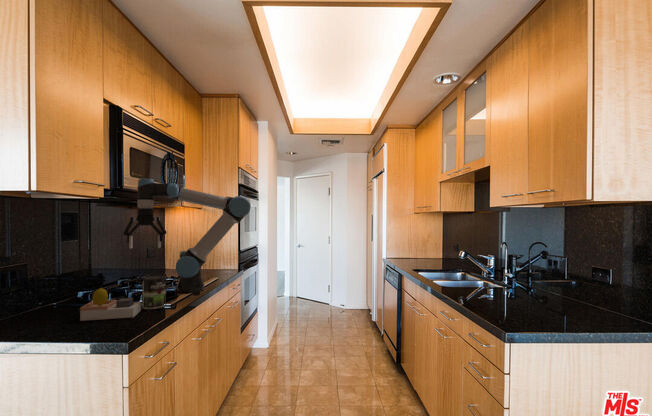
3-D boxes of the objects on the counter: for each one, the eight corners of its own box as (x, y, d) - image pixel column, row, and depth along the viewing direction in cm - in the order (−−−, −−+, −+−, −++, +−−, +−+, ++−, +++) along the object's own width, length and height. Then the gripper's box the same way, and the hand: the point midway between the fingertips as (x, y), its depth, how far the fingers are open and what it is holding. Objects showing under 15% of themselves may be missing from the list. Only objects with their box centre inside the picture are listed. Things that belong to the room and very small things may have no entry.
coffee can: (170, 305, 155) (170, 276, 155) (148, 310, 147) (148, 280, 147) (160, 302, 161) (160, 274, 162) (138, 306, 153) (138, 277, 153)
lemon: (104, 307, 137) (104, 289, 138) (89, 308, 136) (90, 289, 136) (110, 304, 143) (110, 286, 143) (96, 304, 142) (96, 286, 142)
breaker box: (141, 310, 147) (141, 298, 148) (133, 317, 138) (133, 304, 138) (91, 313, 143) (92, 301, 143) (80, 320, 133) (80, 307, 133)
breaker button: (133, 311, 144) (133, 297, 145) (129, 314, 140) (129, 300, 140) (120, 311, 143) (120, 298, 143) (116, 315, 138) (116, 301, 139)
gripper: (172, 208, 175) (172, 246, 175) (122, 208, 169) (121, 247, 169) (169, 207, 168) (169, 248, 167) (116, 207, 162) (115, 249, 162)
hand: (145, 248), depth 168 cm, fingers open, 13 cm apart
